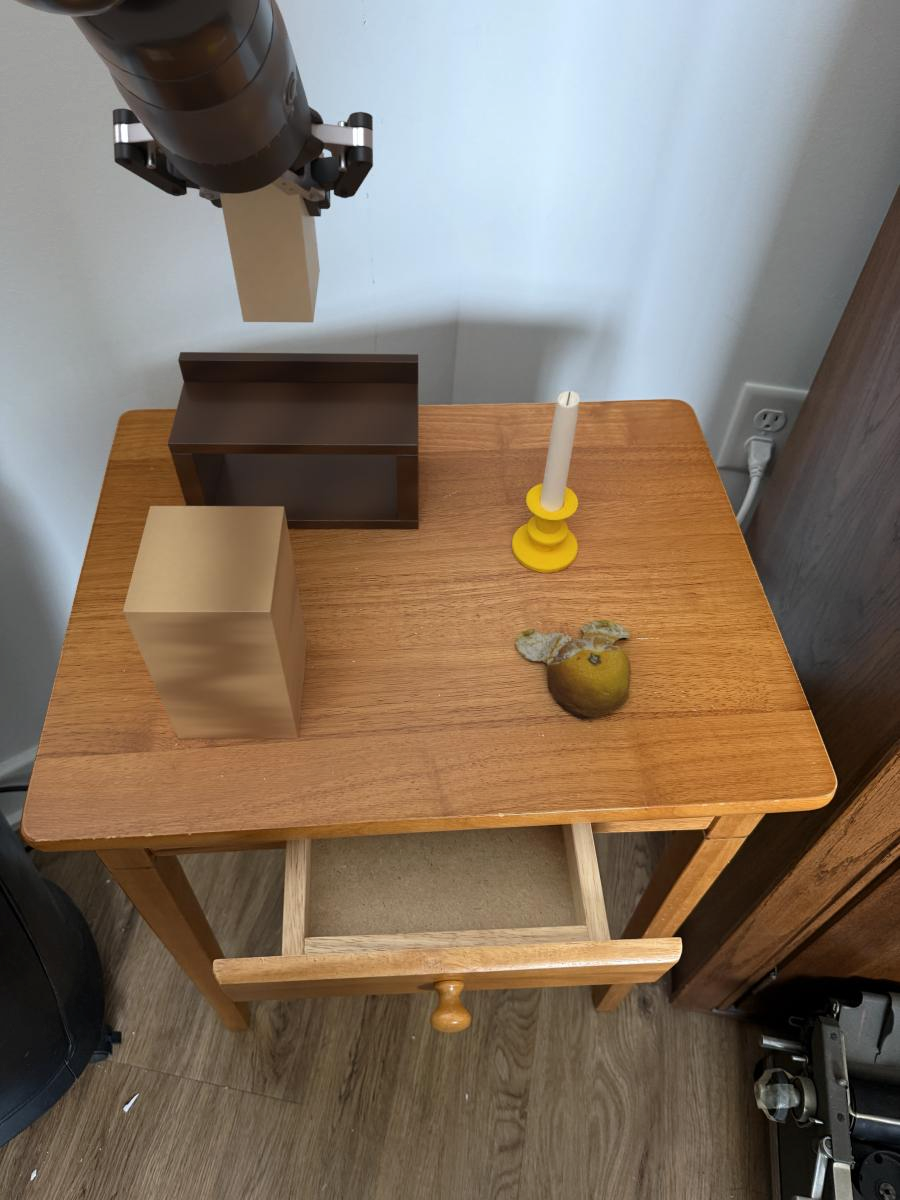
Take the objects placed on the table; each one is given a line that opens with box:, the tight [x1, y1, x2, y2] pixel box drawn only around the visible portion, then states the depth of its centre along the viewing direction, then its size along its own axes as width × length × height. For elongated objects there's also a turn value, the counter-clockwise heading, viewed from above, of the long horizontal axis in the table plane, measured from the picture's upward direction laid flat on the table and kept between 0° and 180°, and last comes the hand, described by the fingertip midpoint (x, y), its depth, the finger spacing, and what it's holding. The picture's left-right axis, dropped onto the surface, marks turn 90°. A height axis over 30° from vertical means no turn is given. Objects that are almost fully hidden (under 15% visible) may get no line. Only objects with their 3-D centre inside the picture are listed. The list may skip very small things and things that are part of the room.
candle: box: [511, 390, 581, 574], centre depth 64 cm, size 5×5×16 cm
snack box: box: [220, 183, 320, 323], centre depth 55 cm, size 4×6×10 cm
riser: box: [122, 505, 308, 740], centre depth 56 cm, size 8×8×14 cm
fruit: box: [514, 619, 632, 720], centre depth 62 cm, size 8×8×4 cm
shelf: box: [167, 351, 420, 530], centre depth 69 cm, size 18×8×11 cm, turn 91°
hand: (274, 199), depth 56 cm, fingers closed on snack box, 4 cm apart
